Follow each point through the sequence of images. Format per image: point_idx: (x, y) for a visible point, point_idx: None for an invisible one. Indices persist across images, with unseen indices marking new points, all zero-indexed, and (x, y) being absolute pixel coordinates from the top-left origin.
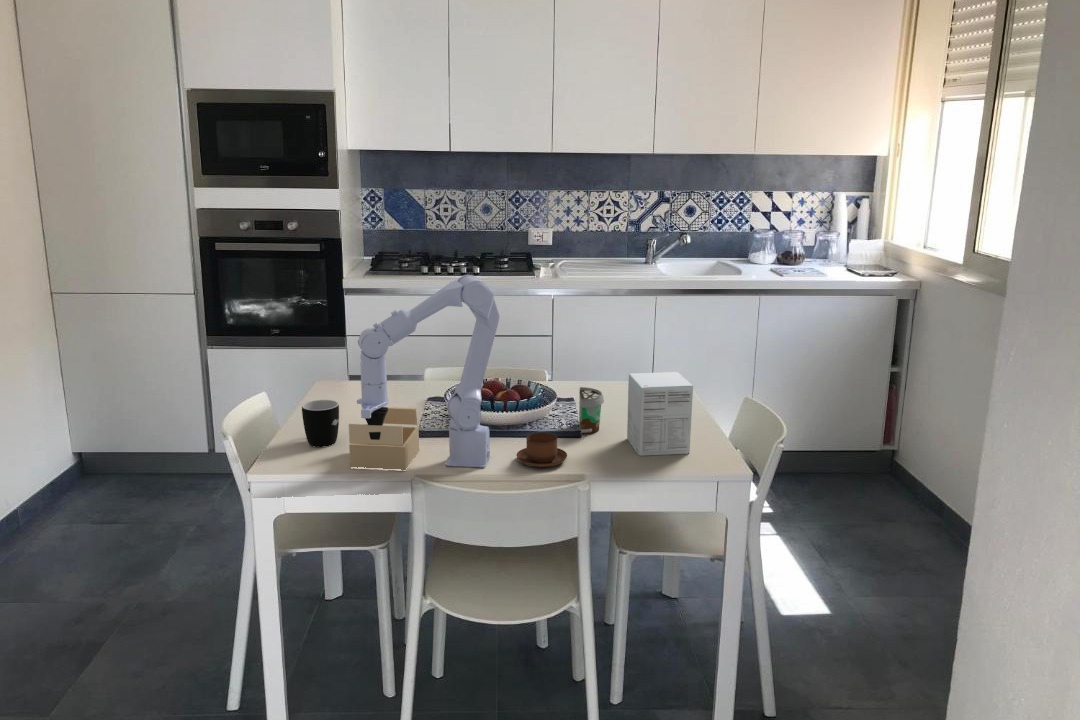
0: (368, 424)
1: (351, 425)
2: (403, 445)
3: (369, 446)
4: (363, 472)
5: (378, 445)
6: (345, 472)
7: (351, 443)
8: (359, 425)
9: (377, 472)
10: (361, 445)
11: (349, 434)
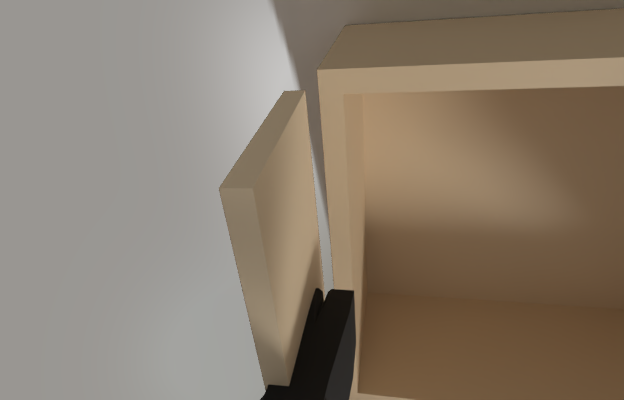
0: (265, 397)
1: (231, 218)
2: (366, 395)
3: (331, 228)
4: (310, 120)
5: (342, 285)
6: (288, 12)
7: (354, 79)
8: (249, 309)
9: (325, 188)
10: (325, 176)
11: (259, 130)
